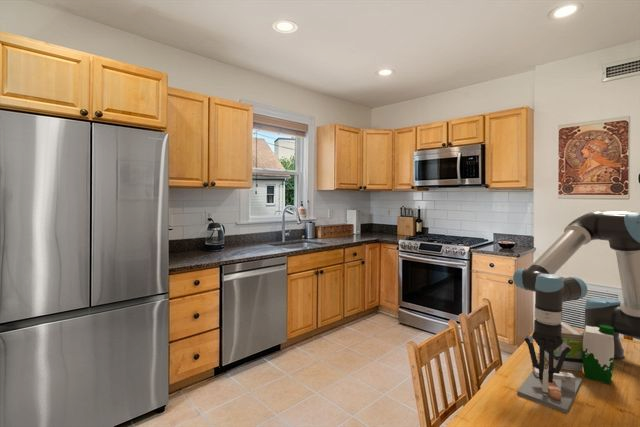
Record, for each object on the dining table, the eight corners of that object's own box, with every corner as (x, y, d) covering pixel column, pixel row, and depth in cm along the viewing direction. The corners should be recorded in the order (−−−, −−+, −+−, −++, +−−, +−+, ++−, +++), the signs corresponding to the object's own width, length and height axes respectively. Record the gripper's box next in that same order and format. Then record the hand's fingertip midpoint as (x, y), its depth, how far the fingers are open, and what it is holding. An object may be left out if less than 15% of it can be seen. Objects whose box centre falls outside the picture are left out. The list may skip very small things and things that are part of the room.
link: (532, 368, 128) (532, 363, 128) (548, 371, 126) (548, 365, 126) (547, 398, 109) (547, 392, 109) (566, 401, 107) (566, 395, 107)
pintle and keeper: (539, 370, 127) (539, 357, 127) (581, 388, 115) (582, 374, 115) (520, 379, 121) (520, 365, 121) (562, 399, 109) (562, 384, 109)
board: (537, 367, 132) (537, 364, 132) (581, 381, 122) (582, 378, 122) (517, 394, 114) (517, 390, 114) (567, 413, 104) (567, 409, 104)
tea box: (583, 372, 129) (585, 334, 128) (554, 369, 131) (556, 332, 130) (563, 354, 143) (564, 320, 143) (538, 352, 145) (539, 318, 145)
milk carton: (613, 386, 118) (615, 332, 117) (581, 378, 124) (583, 325, 123) (612, 376, 125) (614, 324, 124) (581, 368, 131) (583, 319, 130)
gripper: (523, 319, 111) (521, 388, 113) (571, 329, 103) (569, 403, 104) (526, 313, 117) (524, 378, 118) (572, 322, 109) (570, 392, 110)
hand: (545, 390), depth 111 cm, fingers closed
